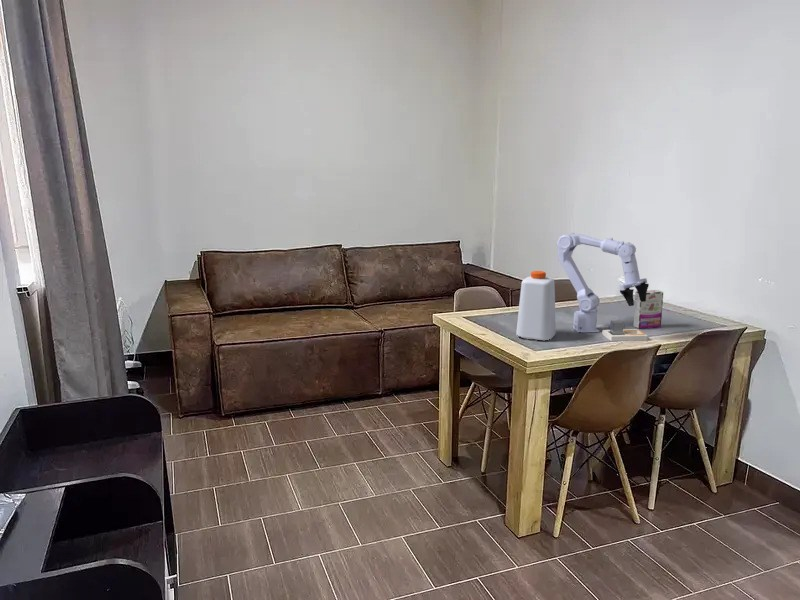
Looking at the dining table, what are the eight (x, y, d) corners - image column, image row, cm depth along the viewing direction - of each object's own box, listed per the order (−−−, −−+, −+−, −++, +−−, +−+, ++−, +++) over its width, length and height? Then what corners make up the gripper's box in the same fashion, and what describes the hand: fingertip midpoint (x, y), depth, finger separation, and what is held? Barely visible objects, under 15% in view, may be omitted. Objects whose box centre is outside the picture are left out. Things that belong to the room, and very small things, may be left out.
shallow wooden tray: (611, 341, 249) (611, 336, 249) (602, 334, 259) (602, 329, 258) (647, 340, 250) (648, 335, 249) (637, 333, 260) (637, 328, 259)
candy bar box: (654, 324, 273) (657, 289, 269) (661, 327, 268) (664, 291, 265) (632, 326, 271) (634, 290, 267) (638, 329, 266) (641, 293, 262)
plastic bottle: (549, 343, 248) (552, 276, 242) (513, 338, 255) (515, 273, 248) (557, 333, 261) (560, 270, 255) (523, 329, 268) (525, 267, 261)
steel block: (613, 339, 252) (614, 323, 251) (609, 336, 256) (610, 320, 255) (622, 338, 252) (623, 322, 251) (618, 336, 256) (619, 320, 255)
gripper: (627, 274, 243) (633, 307, 244) (650, 267, 250) (656, 299, 251) (613, 276, 249) (619, 307, 250) (636, 269, 256) (642, 299, 257)
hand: (637, 303), depth 251 cm, fingers open, 7 cm apart
